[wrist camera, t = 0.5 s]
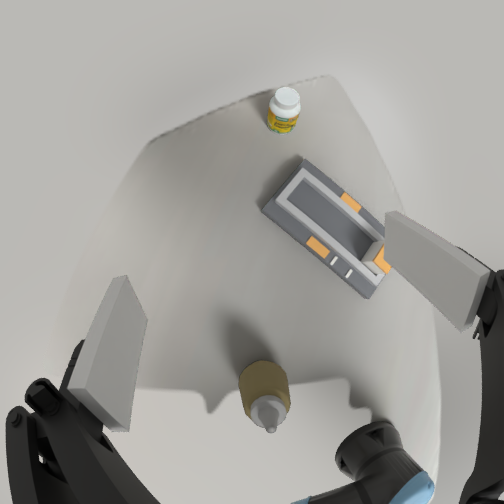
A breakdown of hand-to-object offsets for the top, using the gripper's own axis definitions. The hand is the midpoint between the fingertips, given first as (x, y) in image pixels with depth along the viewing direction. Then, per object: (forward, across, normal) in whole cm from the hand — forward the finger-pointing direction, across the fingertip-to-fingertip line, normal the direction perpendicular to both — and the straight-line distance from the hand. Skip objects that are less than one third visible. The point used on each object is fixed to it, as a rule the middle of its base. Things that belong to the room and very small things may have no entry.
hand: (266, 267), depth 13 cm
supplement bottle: (+41, -13, -5) cm, 43 cm away
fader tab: (+24, -22, +18) cm, 37 cm away
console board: (+29, -17, +14) cm, 37 cm away
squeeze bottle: (+19, +2, +33) cm, 38 cm away
